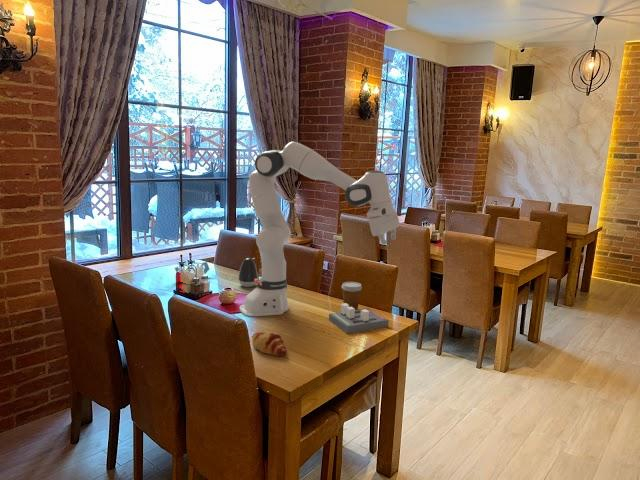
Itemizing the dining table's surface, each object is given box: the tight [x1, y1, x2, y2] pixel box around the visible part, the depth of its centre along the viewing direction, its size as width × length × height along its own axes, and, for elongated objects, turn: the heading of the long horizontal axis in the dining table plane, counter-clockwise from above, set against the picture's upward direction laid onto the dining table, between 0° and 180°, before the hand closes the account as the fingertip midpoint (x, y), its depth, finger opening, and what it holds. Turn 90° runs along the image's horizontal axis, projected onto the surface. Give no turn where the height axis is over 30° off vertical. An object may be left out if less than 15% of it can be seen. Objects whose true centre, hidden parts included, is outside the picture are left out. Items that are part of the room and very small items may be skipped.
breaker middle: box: [346, 307, 355, 319], centre depth 202 cm, size 2×3×4 cm
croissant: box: [251, 331, 288, 357], centre depth 176 cm, size 21×10×8 cm, turn 40°
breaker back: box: [340, 302, 349, 315], centre depth 206 cm, size 2×3×4 cm
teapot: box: [174, 259, 210, 274], centre depth 261 cm, size 15×15×11 cm
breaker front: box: [360, 308, 369, 321], centre depth 199 cm, size 2×3×4 cm
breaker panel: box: [328, 307, 389, 334], centre depth 204 cm, size 20×16×3 cm
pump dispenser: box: [238, 257, 259, 288], centre depth 252 cm, size 10×10×15 cm
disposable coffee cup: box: [341, 281, 363, 310], centre depth 221 cm, size 10×10×12 cm
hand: (389, 242), depth 197 cm, fingers open, 8 cm apart
